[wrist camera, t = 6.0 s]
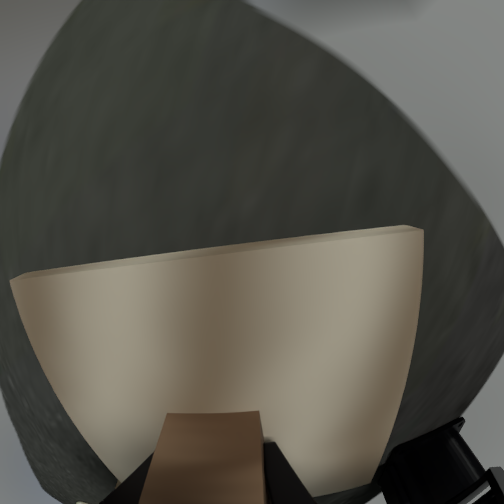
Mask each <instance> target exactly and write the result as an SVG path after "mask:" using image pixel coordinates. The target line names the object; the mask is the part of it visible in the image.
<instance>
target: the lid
mask: <svg viewBox="0 0 504 504" xmlns="http://www.w3.org/2000/svg"><path fill="white" fill-rule="evenodd" d="M423 249H424V230H422V229H419V228H415V227H411V226H407V225H400V226H391V227H381V228H372V229H363V230H354V231H345V232H337V233H328V234H319V235H311V236H302V237H294V238H285V239H277V240H268V241H260V242H252V243H244V244H236V245H228V246H220V247H212V248H204V249H196V250H188V251H180V252H172V253H165V254H157V255H150V256H142V257H135V258H127V259H120V260H112V261H105V262H98V263H91V264H83V265H76V266H69V267H62V268H55V269H48V270H41V271H34V272H28V273H24V274H22V275H20V276H18V277H16V278H14V279H12V280H10V284H11V288H12V291H13V295H14V298H15V301H16V304H17V307H18V310H19V313H20V316H21V319H22V322H23V324H24V327H25V330H26V332H27V335H28V337H29V340H30V342H31V345H32V347H33V349H34V351H35V354H36V356H37V358H38V360H39V362H40V364H41V367H42V369H43V371H44V373H45V375H46V377H47V378H48V380H49V382H50V384H51V386H52V388H53V390H54V391H55V393H56V395H57V397H58V398H59V400H60V402H61V404H62V405H63V407H64V408H65V410H66V412H67V413H68V415H69V416H70V418H71V420H72V421H73V423H74V424H75V426H76V427H77V428H78V430H79V431H80V433H81V434H82V436H83V437H84V438H85V440H86V441H87V442H88V444H89V445H90V446H91V448H92V449H93V450H94V452H95V453H96V454H97V455H98V457H99V458H100V459H101V460H102V462H103V463H104V464H105V465H106V466H107V468H108V469H109V470H110V471H111V472H112V473H113V474H114V476H115V477H116V478H117V479H118V480H119V481H120V482H121V483H122V482H123V481H124V480H125V479H126V478H127V477H128V476H129V475H130V474H131V473H132V472H134V471H135V470H136V469H137V468H138V467H139V466H140V465H141V464H142V463H143V462H144V461H145V460H146V459H147V458H148V457H149V456H150V455H151V454H152V453H153V452H154V454H153V458H152V461H151V464H150V467H149V470H148V474H147V477H146V480H145V484H144V487H143V490H142V494H141V497H140V500H139V504H271V502H270V498H269V494H268V490H267V485H266V481H265V476H264V453H263V443H264V442H271V441H274V442H276V443H277V445H278V447H279V448H280V450H281V451H282V453H283V454H284V456H285V458H286V459H287V461H288V462H289V464H290V465H291V467H292V468H293V470H294V471H295V473H296V474H297V476H298V477H299V479H300V480H301V482H302V483H303V485H304V486H305V487H306V489H307V490H308V492H309V493H310V494H311V496H312V497H316V496H321V495H326V494H331V493H335V492H340V491H344V490H348V489H351V488H355V487H358V486H362V485H365V484H368V483H371V480H372V478H373V476H374V474H375V472H376V469H377V467H378V465H379V462H380V460H381V457H382V455H383V453H384V450H385V447H386V445H387V442H388V439H389V437H390V434H391V431H392V428H393V425H394V422H395V419H396V416H397V412H398V409H399V406H400V402H401V399H402V395H403V392H404V388H405V384H406V380H407V375H408V371H409V367H410V362H411V357H412V352H413V347H414V341H415V335H416V329H417V322H418V315H419V307H420V297H421V286H422V273H423Z"/></svg>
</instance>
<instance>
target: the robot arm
mask: <svg viewBox="0 0 504 504" xmlns="http://www.w3.org/2000/svg"><path fill="white" fill-rule="evenodd" d="M464 423H465V419H464V418H463V417H460V418H458V419H457V420H455V421H453V422H451V423H449V424H447V425H445V426H443V427H441V428H439V429H437V430H435V431H433V432H431V433H429V434H427V435H424V436H422V437H420V438H417V439H415V440H413V441H410V442H408V443H405V444H403V445H400V446H398V447H397V448H396V449H395V450H394V451H393V453H392V456H391V458H390V460H389V462H388V464H387V466H386V469H385V471H384V473H383V475H382V477H381V479H380V481H379V483H378V485H379V487H380V488H381V490H382V492H383V495H384V498H385V500H386V503H387V504H467V503H468V502H469V501H471V500H472V499H473V498H474V497H476V496H477V495H478V494H480V493H481V492H482V491H483V490H484V489H486V488H487V487H488V486H489V485H490V487H491V489H490V490H489V491H488V492H487V493H486V494H484V495H483V496H481V497H480V498H479V499H478V500H476V501H475V502H474V503H472V504H504V470H503V469H502V468H501V467H490V468H489V469H488V470H487V471H485V469H484V468H483V466H482V465H481V464H480V462H479V461H478V459H477V458H476V456H475V455H474V453H473V452H472V451H471V449H470V448H469V446H468V445H467V444H466V442H465V441H464V439H463V438H462V437H461V435H460V434H459V432H460V430H461V428H462V427H463V425H464ZM263 453H264V476H265V481H266V485H267V490H268V494H269V498H270V502H271V504H317V503H316V501H315V500H314V499H313V497H312V496H311V494H310V493H309V492H308V490H307V489H306V487H305V486H304V485H303V483H302V482H301V480H300V479H299V477H298V476H297V474H296V473H295V471H294V470H293V468H292V467H291V465H290V464H289V462H288V461H287V459H286V458H285V456H284V454H283V453H282V451H281V450H280V448H279V447H278V445H277V443H276V442H274V441H271V442H264V443H263ZM153 454H154V452H153V453H152V454H151V455H150V456H149V457H148V458H147V459H146V460H145V461H144V462H143V463H142V464H141V465H140V466H139V467H138V468H137V469H136V470H135V471H134V472H132V473H131V474H130V475H129V476H128V477H127V478H126V479H125V480H124V481H123V482H122V483H121V484H120V485H119V486H118V487H117V488H116V489H115V490H114V491H112V492H111V493H110V494H109V495H108V496H107V497H106V498H105V499H104V500H103V501H101V502H100V503H99V504H139V500H140V497H141V494H142V490H143V487H144V484H145V480H146V477H147V474H148V470H149V467H150V464H151V461H152V458H153Z"/></svg>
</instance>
